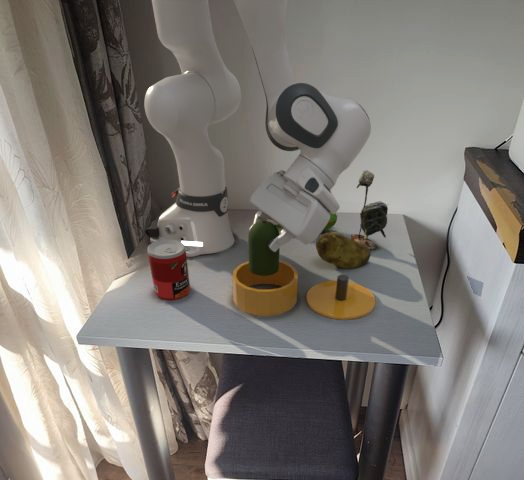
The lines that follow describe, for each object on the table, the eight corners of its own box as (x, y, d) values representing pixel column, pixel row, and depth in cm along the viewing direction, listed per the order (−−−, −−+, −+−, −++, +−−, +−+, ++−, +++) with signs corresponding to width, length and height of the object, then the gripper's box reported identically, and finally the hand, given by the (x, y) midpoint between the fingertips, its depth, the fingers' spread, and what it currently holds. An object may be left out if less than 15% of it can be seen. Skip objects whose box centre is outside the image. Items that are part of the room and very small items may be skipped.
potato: (366, 277, 108) (370, 245, 103) (311, 269, 111) (314, 238, 106) (369, 260, 114) (374, 230, 109) (318, 254, 117) (320, 224, 112)
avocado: (243, 271, 95) (242, 223, 88) (257, 258, 99) (256, 211, 93) (271, 278, 93) (271, 229, 86) (283, 264, 97) (285, 217, 90)
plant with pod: (387, 254, 117) (401, 173, 104) (341, 252, 118) (351, 172, 105) (383, 240, 123) (396, 162, 111) (340, 238, 124) (348, 161, 111)
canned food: (180, 304, 99) (174, 258, 93) (148, 297, 102) (139, 252, 95) (196, 287, 105) (191, 242, 98) (165, 281, 107) (158, 236, 100)
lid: (295, 311, 97) (297, 286, 93) (319, 279, 107) (321, 255, 104) (363, 329, 92) (367, 303, 88) (382, 293, 102) (386, 269, 99)
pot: (222, 308, 98) (220, 282, 94) (251, 279, 108) (250, 254, 104) (281, 324, 94) (281, 297, 90) (306, 292, 103) (307, 266, 99)
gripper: (269, 158, 94) (228, 213, 97) (327, 191, 80) (277, 254, 83) (288, 177, 99) (247, 229, 101) (345, 211, 85) (297, 271, 87)
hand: (261, 241), depth 92 cm, fingers closed on avocado, 6 cm apart
